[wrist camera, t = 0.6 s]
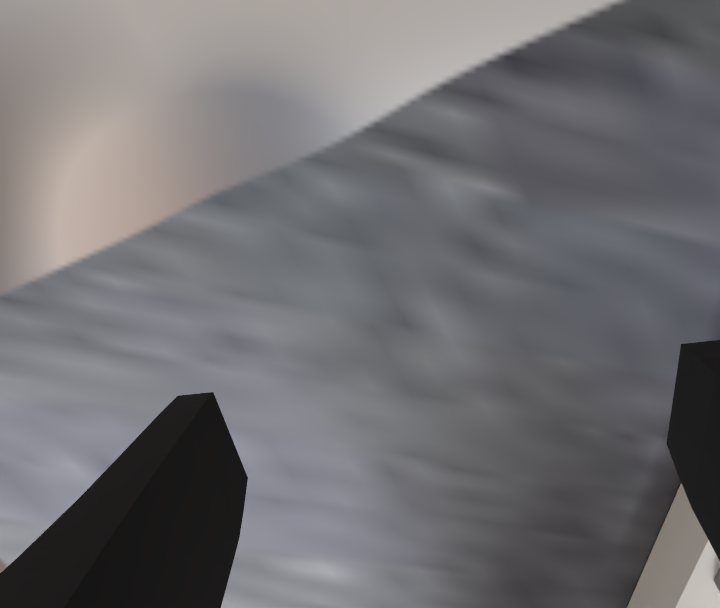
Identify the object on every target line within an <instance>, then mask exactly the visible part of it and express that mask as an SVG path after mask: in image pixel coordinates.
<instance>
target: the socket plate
mask: <svg viewBox="0 0 720 608" xmlns="http://www.w3.org/2000/svg"><path fill="white" fill-rule="evenodd" d="M627 608H720V561H719V559H718V557H717V555H716V553H715V551H714V549H713V548H712V546H711V544H710V542H709V540H708V538H707V536H706V534H705V532H704V531H703V529H702V527H701V525H700V523H699V521H698V519H697V517H696V515H695V513H694V512H693V510H692V508H691V505H690V503H689V500H688V498H687V495H686V493H685V491H684V488H683V486H682V483H681V484H680V487H679V489H678V491H677V494H676V496H675V498H674V501H673V503H672V505H671V507H670V510H669V512H668V514H667V517H666V519H665V521H664V524H663V526H662V528H661V530H660V533H659V535H658V537H657V540H656V542H655V544H654V546H653V549H652V551H651V553H650V556H649V558H648V560H647V563H646V565H645V567H644V569H643V572H642V574H641V576H640V579H639V581H638V583H637V586H636V588H635V590H634V592H633V595H632V597H631V599H630V602H629V604H628V606H627Z"/></svg>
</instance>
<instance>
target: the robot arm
mask: <svg viewBox="0 0 720 608" xmlns="http://www.w3.org/2000/svg"><path fill="white" fill-rule="evenodd" d="M667 446H668V448H669V451H670V454H671V456H672V459H673V462H674V465H675V467H676V470H677V473H678V475H679V478H680V481H681V483H682V486H683V488H684V491H685V493H686V495H687V498H688V500H689V503H690V505H691V508H692V510H693V512H694V513H695V515H696V517H697V519H698V521H699V523H700V525H701V527H702V529H703V531H704V532H705V534H706V536H707V538H708V540H709V542H710V544H711V546H712V548H713V549H714V551H715V553H716V555H717V557H718V559H719V561H720V340H717V341H707V342H698V343H688V344H681V349H680V356H679V363H678V370H677V377H676V384H675V390H674V397H673V404H672V411H671V418H670V425H669V431H668V438H667ZM247 479H248V477H247V475H246V472H245V470H244V467H243V465H242V463H241V460H240V458H239V455H238V453H237V450H236V448H235V445H234V443H233V440H232V438H231V435H230V433H229V430H228V428H227V425H226V423H225V421H224V418H223V416H222V413H221V411H220V408H219V406H218V403H217V401H216V398H215V396H214V393H213V392H211V393H201V394H192V395H182V396H177V397H176V398H175V399H174V400H173V401H172V402H171V403H170V404H169V405H168V406H167V407H166V408H165V409H164V410H163V411H162V412H161V413H160V414H159V415H158V416H157V417H156V418H155V419H154V420H153V421H152V423H151V424H150V425H149V426H148V427H147V428H146V429H145V430H144V431H143V432H142V433H141V434H140V435H139V436H138V437H137V438H136V439H135V441H134V442H133V443H132V444H131V445H130V446H129V447H128V448H127V449H126V450H125V451H124V452H123V453H122V454H121V455H120V456H119V457H118V458H117V460H116V461H115V462H114V463H113V464H112V465H111V466H110V467H109V468H108V469H107V470H106V471H105V472H104V473H103V474H102V475H101V476H100V477H99V478H98V479H97V480H96V481H95V482H94V483H93V484H92V486H91V487H90V488H89V489H88V490H87V491H86V492H85V493H84V494H83V495H82V496H81V497H80V498H79V499H78V500H77V501H76V502H75V503H74V504H73V505H72V506H71V507H70V508H69V509H68V510H67V511H66V512H65V513H63V514H62V515H61V516H60V517H59V518H58V519H57V520H56V521H55V522H54V523H53V524H52V525H51V526H50V527H49V528H48V529H47V530H46V531H45V532H44V533H43V534H42V535H41V536H40V537H39V538H38V539H37V540H36V541H35V542H34V543H32V544H31V545H30V546H29V547H28V548H27V549H26V550H25V551H24V552H23V553H22V554H21V555H20V556H19V557H18V558H17V559H16V560H15V561H14V562H12V563H11V564H10V565H9V566H8V567H7V568H6V569H5V570H4V571H3V572H1V573H0V608H221V604H222V600H223V597H224V593H225V590H226V586H227V582H228V578H229V575H230V571H231V567H232V563H233V560H234V556H235V552H236V548H237V544H238V540H239V536H240V529H241V523H242V517H243V510H244V502H245V495H246V487H247Z"/></svg>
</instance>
